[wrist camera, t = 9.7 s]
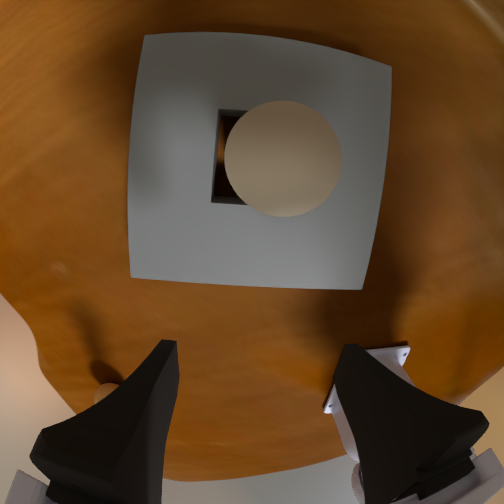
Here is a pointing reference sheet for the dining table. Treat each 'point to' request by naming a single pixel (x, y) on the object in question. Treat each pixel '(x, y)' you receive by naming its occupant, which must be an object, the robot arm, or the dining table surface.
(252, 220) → the socket block
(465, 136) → the dining table surface
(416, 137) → the dining table surface
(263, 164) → the birch dowel
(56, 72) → the dining table surface
